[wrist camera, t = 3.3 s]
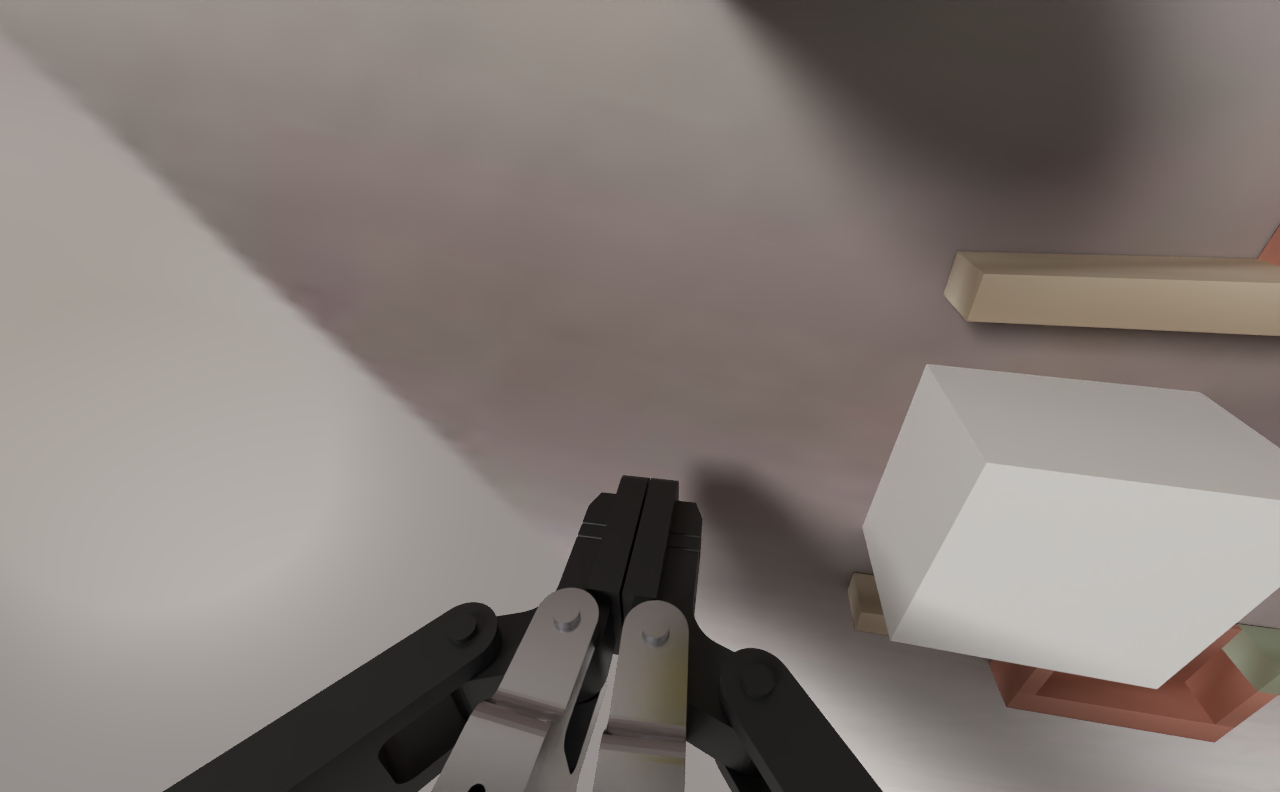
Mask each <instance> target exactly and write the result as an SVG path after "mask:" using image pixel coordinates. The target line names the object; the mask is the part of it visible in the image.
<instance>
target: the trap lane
mask: <svg viewBox="0 0 1280 792" xmlns="http://www.w3.org/2000/svg"><path fill="white" fill-rule="evenodd" d="M943 295H944V296H945V297H946V298H947V299H948V300H949V302H950V303H951V304H952V305H953V306H954V307H955V308H956V310H957V311H958V312H959V313H960V314H961V315H962V316H963V317H964V319H965V320H966V321H972V322H993V323H1015V324H1036V325H1057V326H1078V327H1100V328H1121V329H1142V330H1163V331H1185V332H1206V333H1227V334H1248V335H1270V336H1280V225H1279V227H1278V229H1277V230H1276V232H1275V233H1274V235H1273V236H1272V238H1271V239H1270V241H1269V242H1268V244H1267V245H1266V247H1265V248H1264V250H1263V251H1262V253H1261V254H1260V256H1259V257H1258V259H1255V258H1214V257H1173V256H1132V255H1091V254H1050V253H1010V252H969V251H957V254H956V257H955V260H954V263H953V266H952V269H951V272H950V275H949V278H948V282H947V285H946V288H945V291H944V294H943ZM847 591H848V597H849V602H850V608H851V613H852V618H853V624H854V629H855V630H856V631H862V632H869V633H875V634H882V635H888V636H889V634H888V630H887V626H886V622H885V618H884V614H883V610H882V606H881V602H880V597H879V593H878V589H877V585H876V581H875V577H874V575H867V574H860V573H853V575H852V578H851V581H850V584H849V587H848V590H847ZM989 665H990V668H991V670H992V672H993V675H994V677H995V680H996V682H997V685H998V687H999V690H1000V692H1001V695H1002V697H1003V700H1004V702H1005V705H1006V707H1009V708H1015V709H1021V710H1026V711H1032V712H1038V713H1044V714H1050V715H1056V716H1062V717H1068V718H1074V719H1079V720H1085V721H1091V722H1097V723H1103V724H1109V725H1115V726H1121V727H1127V728H1132V729H1138V730H1144V731H1150V732H1156V733H1162V734H1168V735H1174V736H1180V737H1185V738H1191V739H1197V740H1203V741H1209V742H1216V741H1217V740H1218V739H1220V738H1221V737H1222V736H1224V735H1225V734H1226V733H1228V732H1229V731H1231V730H1232V729H1233V728H1235V727H1236V726H1237V725H1239V724H1240V723H1241V722H1243V721H1244V720H1245V719H1247V718H1248V717H1249V716H1251V715H1252V714H1253V713H1255V712H1256V711H1257V710H1259V709H1260V708H1261V707H1263V706H1264V705H1265V704H1267V703H1268V702H1269V701H1271V700H1272V699H1273V698H1275V697H1276V696H1278V695H1280V629H1272V628H1265V627H1257V626H1250V625H1242V624H1235V625H1233V626H1232V627H1231V628H1230V629H1229V630H1227V631H1226V632H1225V633H1224V634H1223V635H1221V636H1220V637H1219V638H1218V639H1217V640H1215V641H1214V642H1213V643H1212V644H1211V645H1209V646H1208V647H1207V648H1206V649H1205V650H1203V651H1202V652H1201V653H1200V654H1199V655H1197V656H1196V657H1195V658H1194V659H1193V660H1191V661H1190V662H1189V663H1188V664H1187V665H1185V666H1184V667H1183V668H1182V669H1181V670H1179V671H1178V672H1177V673H1176V674H1175V675H1173V676H1172V677H1171V678H1170V679H1169V680H1167V681H1166V682H1165V683H1164V684H1163V685H1161V686H1160V687H1159V688H1158V689H1153V688H1147V687H1142V686H1136V685H1131V684H1125V683H1120V682H1114V681H1109V680H1103V679H1098V678H1092V677H1087V676H1081V675H1076V674H1070V673H1065V672H1059V671H1054V670H1048V669H1043V668H1037V667H1032V666H1026V665H1021V664H1015V663H1010V662H1004V661H999V660H993V659H992V660H991V661H990V663H989Z"/></svg>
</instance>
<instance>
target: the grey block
mask: <svg viewBox="0 0 1280 792" xmlns="http://www.w3.org/2000/svg"><path fill="white" fill-rule="evenodd" d="M862 528H863V532H864V536H865V540H866V545H867V549H868V553H869V557H870V561H871V565H872V569H873V573H874V577H875V581H876V585H877V589H878V593H879V597H880V602H881V606H882V610H883V614H884V618H885V622H886V626H887V630H888V634H889V638H890V641H894V642H900V643H905V644H911V645H916V646H922V647H927V648H933V649H938V650H944V651H949V652H955V653H960V654H966V655H971V656H977V657H982V658H988V659H993V660H999V661H1004V662H1010V663H1015V664H1021V665H1026V666H1032V667H1037V668H1043V669H1048V670H1054V671H1059V672H1065V673H1070V674H1076V675H1081V676H1087V677H1092V678H1098V679H1103V680H1109V681H1114V682H1120V683H1125V684H1131V685H1136V686H1142V687H1147V688H1153V689H1158V688H1159V687H1160V686H1161V685H1163V684H1164V683H1165V682H1166V681H1167V680H1169V679H1170V678H1171V677H1172V676H1173V675H1175V674H1176V673H1177V672H1178V671H1179V670H1181V669H1182V668H1183V667H1184V666H1185V665H1187V664H1188V663H1189V662H1190V661H1191V660H1193V659H1194V658H1195V657H1196V656H1197V655H1199V654H1200V653H1201V652H1202V651H1203V650H1205V649H1206V648H1207V647H1208V646H1209V645H1211V644H1212V643H1213V642H1214V641H1215V640H1217V639H1218V638H1219V637H1220V636H1221V635H1223V634H1224V633H1225V632H1226V631H1227V630H1229V629H1230V628H1231V627H1232V626H1233V625H1235V624H1236V623H1237V622H1238V621H1239V620H1241V619H1242V618H1243V617H1244V616H1245V615H1247V614H1248V613H1249V612H1250V611H1251V610H1253V609H1254V608H1255V607H1256V606H1257V605H1259V604H1260V603H1261V602H1262V601H1263V600H1265V599H1266V598H1267V597H1268V596H1269V595H1271V594H1272V593H1273V592H1274V591H1275V590H1277V589H1278V588H1279V587H1280V448H1279V447H1277V446H1276V445H1274V444H1273V443H1272V442H1270V441H1269V440H1267V439H1266V438H1264V437H1263V436H1262V435H1260V434H1259V433H1257V432H1256V431H1255V430H1253V429H1252V428H1250V427H1249V426H1247V425H1246V424H1245V423H1243V422H1242V421H1240V420H1239V419H1238V418H1236V417H1235V416H1233V415H1232V414H1230V413H1229V412H1228V411H1226V410H1225V409H1223V408H1222V407H1221V406H1219V405H1218V404H1216V403H1215V402H1213V401H1212V400H1211V399H1209V398H1208V397H1206V396H1205V395H1203V394H1202V393H1201V392H1192V391H1183V390H1173V389H1163V388H1154V387H1144V386H1134V385H1125V384H1115V383H1105V382H1096V381H1086V380H1076V379H1066V378H1057V377H1047V376H1037V375H1028V374H1018V373H1008V372H999V371H989V370H979V369H970V368H960V367H950V366H941V365H931V364H927V365H926V367H925V370H924V372H923V375H922V377H921V380H920V382H919V385H918V387H917V390H916V392H915V395H914V397H913V400H912V403H911V405H910V408H909V410H908V413H907V415H906V418H905V420H904V423H903V425H902V428H901V430H900V433H899V436H898V438H897V441H896V443H895V446H894V448H893V451H892V453H891V456H890V458H889V461H888V463H887V466H886V469H885V471H884V474H883V476H882V479H881V481H880V484H879V486H878V489H877V491H876V494H875V496H874V499H873V501H872V504H871V507H870V509H869V512H868V514H867V517H866V519H865V522H864V524H863V527H862Z"/></svg>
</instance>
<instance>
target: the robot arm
mask: <svg viewBox="0 0 1280 792" xmlns="http://www.w3.org/2000/svg"><path fill="white" fill-rule="evenodd" d="M678 499H679V482H678V481H674V480H665V479H655V478H651V480H650V478H645V477H635V476H626V475H623V476H622V478H621V481H620V484H619V487H618V490H617V493H616V494H611V493H601V494H600V495H599V496H598V497H597V498H596V499H595V500H594V501H593V502H592V503H591V504H590V505H589V507H588V509H587V512H586V515H585V517H584V520H583V524H582V525H581V528H580V531H579V533H578V537H577V538H576V541H575V544H574V546H573V549H572V552H571V554H570V557H569V559H568V562H567V565H566V567H565V570H564V573H563V575H562V578H561V581H560V583H559V586H558V588H557V590H556V591H555V592H553V593H551V594H550V595H548V596H547V597H546V598H545V599H544V600H543V601H542V602H541V603H540V605H539V607H537V608H535V609H532V610H529V611H526V612H521V613H516V614H509V615H503V616H496V615H495V613H494V612H493V610H492V609H491V608H490V607H488V606H487V605H484V604H482V603H476V602H471V603H465V604H461V605H459V606H456V607H454V608H452V609H450V610H449V611H447V612H446V613H444V614H443V615H441V616H439V617H438V618H436V619H435V620H433V621H431V622H430V623H428V624H427V625H425V626H424V627H422V628H421V629H419V630H418V631H416V632H414V633H413V634H411V635H409V636H408V637H406V638H405V639H403V640H401V641H400V642H398V643H397V644H395V645H394V646H392V647H390V648H389V649H387V650H386V651H384V652H383V653H381V654H379V655H378V656H376V657H375V658H373V659H372V660H370V661H368V662H367V663H365V664H364V665H362V666H360V667H359V668H357V669H356V670H354V671H353V672H351V673H350V674H348V675H346V676H345V677H343V678H342V679H340V680H338V681H337V682H335V683H334V684H332V685H330V686H329V687H327V688H326V689H324V690H323V691H321V692H320V693H318V694H316V695H315V696H313V697H312V698H310V699H308V700H307V701H305V702H304V703H302V704H300V705H299V706H297V707H296V708H294V709H293V710H291V711H290V712H288V713H286V714H285V715H283V716H282V717H280V718H278V719H277V720H275V721H274V722H272V723H271V724H269V725H267V726H266V727H264V728H263V729H261V730H259V731H258V732H256V733H255V734H253V735H252V736H250V737H248V738H247V739H245V740H244V741H242V742H241V743H239V744H237V745H236V746H234V747H233V748H231V749H230V750H228V751H226V752H225V753H223V754H222V755H220V756H219V757H217V758H215V759H214V760H212V761H211V762H209V763H207V764H206V765H204V766H203V767H201V768H199V769H198V770H196V771H195V772H193V773H192V774H190V775H189V776H187V777H185V778H184V779H182V780H181V781H179V782H177V783H176V784H174V785H173V786H171V787H170V788H168V789H166V790H165V791H163V792H418V791H419V790H420V789H421V788H423V787H424V786H425V785H426V784H428V783H429V782H430V781H431V780H432V779H434V778H435V777H436V776H437V775H439V774H440V775H439V777H438V779H437V781H436V783H435V785H434V787H433V789H432V791H431V792H576V789H577V783H578V779H579V775H580V771H581V768H582V765H583V762H584V759H585V755H586V752H587V749H588V745H589V743H590V739H591V736H592V733H593V730H594V727H595V723H596V720H597V717H598V714H599V710H600V707H601V704H602V701H603V698H604V694H605V691H606V687H607V676H608V672H609V667H610V664H611V660H612V655H613V654H617V655H618V662H617V668H616V675H615V682H614V688H613V695H612V701H611V708H610V715H609V721H608V725H607V728H606V729H605V730H604V732H603V735H602V739H601V744H600V749H599V755H598V761H597V767H596V773H595V780H594V786H593V792H684V787H685V786H684V785H685V752H686V741H687V742H689V743H691V744H692V745H694V746H695V747H697V748H699V749H700V750H702V751H703V752H705V753H706V754H708V755H710V756H711V757H713V758H714V759H715V761H716V763H717V765H718V768H719V770H720V771H721V773H722V775H723V777H724V778H725V780H726V782H727V784H728V786H729V788H730V789H731V791H732V792H883V791H882V790H881V789H880V788H879V786H878V785H877V784H876V782H875V781H874V780H873V778H872V777H871V776H870V775H869V773H868V772H867V771H866V769H865V768H864V767H863V766H862V764H861V763H860V762H859V760H858V759H857V758H856V757H855V755H854V754H853V753H852V751H851V750H850V749H849V748H848V746H847V745H846V744H845V742H844V741H843V740H842V738H841V737H840V736H839V735H838V733H837V732H836V731H835V729H834V728H833V727H832V726H831V724H830V723H829V722H828V720H827V719H826V718H825V717H824V715H823V714H822V713H821V711H820V710H819V709H818V708H817V706H816V705H815V704H814V702H813V701H812V700H811V699H810V697H809V696H808V695H807V693H806V692H805V691H804V689H803V688H802V687H801V686H800V684H799V683H798V682H797V680H796V679H795V678H794V677H793V675H792V674H791V673H790V671H789V670H788V669H787V668H786V666H785V665H784V664H783V663H782V662H781V661H780V660H779V659H778V658H777V657H775V656H774V655H772V654H771V653H769V652H766V651H764V650H760V649H755V648H746V649H741V650H739V651H736V652H733V651H731V650H729V649H727V648H725V647H723V646H721V645H719V644H717V643H716V642H714V641H712V640H711V639H710V638H708V637H707V636H706V635H705V634H704V633H703V632H702V630H701V629H700V628H699V626H698V624H697V622H696V620H695V617H694V612H695V602H696V593H697V583H698V573H699V564H700V551H701V533H702V517H701V514H700V512H699V509H698V507H697V505H696V503H692V502H683V501H678Z"/></svg>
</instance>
